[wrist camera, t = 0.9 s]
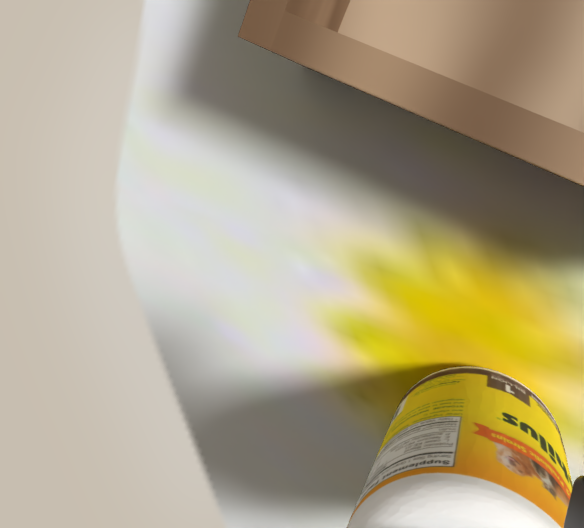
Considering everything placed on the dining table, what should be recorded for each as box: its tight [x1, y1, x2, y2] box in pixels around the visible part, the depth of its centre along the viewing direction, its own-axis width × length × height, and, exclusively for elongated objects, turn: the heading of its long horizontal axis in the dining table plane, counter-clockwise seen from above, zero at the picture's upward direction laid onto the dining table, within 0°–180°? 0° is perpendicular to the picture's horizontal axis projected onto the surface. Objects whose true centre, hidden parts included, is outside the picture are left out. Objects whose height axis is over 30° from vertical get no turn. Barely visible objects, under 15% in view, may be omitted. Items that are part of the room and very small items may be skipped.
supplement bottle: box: [347, 366, 573, 528], centre depth 15 cm, size 6×6×10 cm
